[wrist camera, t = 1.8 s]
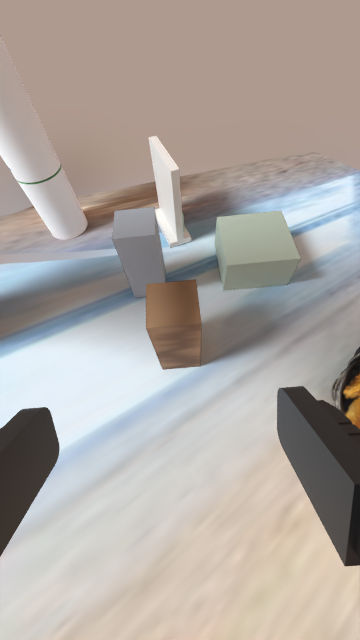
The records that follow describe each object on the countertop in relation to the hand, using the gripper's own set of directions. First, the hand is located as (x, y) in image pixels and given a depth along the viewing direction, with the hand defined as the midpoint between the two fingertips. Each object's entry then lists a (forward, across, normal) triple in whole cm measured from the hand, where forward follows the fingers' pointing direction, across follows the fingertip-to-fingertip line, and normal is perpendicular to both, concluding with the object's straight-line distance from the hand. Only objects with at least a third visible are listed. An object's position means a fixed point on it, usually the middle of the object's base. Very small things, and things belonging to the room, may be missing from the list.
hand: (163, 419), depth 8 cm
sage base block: (+34, -12, -3) cm, 37 cm away
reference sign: (+42, 0, -10) cm, 43 cm away
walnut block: (+24, 0, +7) cm, 25 cm away
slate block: (+32, +4, -1) cm, 33 cm away
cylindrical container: (+44, +20, -13) cm, 50 cm away
